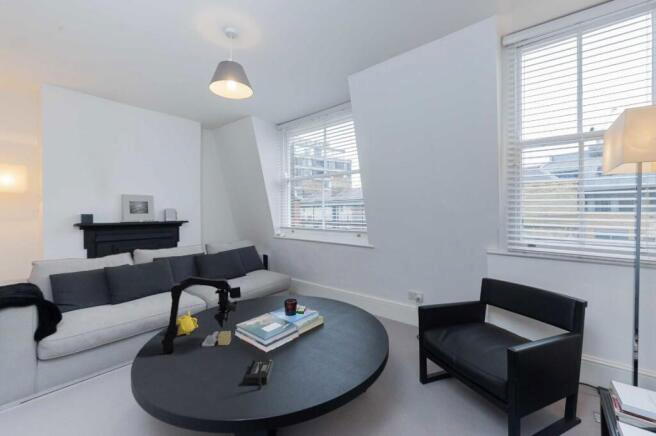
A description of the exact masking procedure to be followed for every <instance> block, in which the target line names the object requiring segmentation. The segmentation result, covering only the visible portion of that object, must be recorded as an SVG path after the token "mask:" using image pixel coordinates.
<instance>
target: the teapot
mask: <svg viewBox="0 0 656 436" xmlns="http://www.w3.org/2000/svg"><path fill="white" fill-rule="evenodd" d="M197 321H198V319H197V318H196V317H191V310H189V311H188V312H187V314H186V315H182V316H181V317H179V318H177V324H180V326H179V333H178V335H176V337H177V336H179V337H180V336H181V335H184V334H186V336H189V335H190V334H191V332H193V331H194V330H195V329H197V328H198V327H199V325H198V324H197Z"/></svg>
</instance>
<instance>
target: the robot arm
mask: <svg viewBox="0 0 656 436" xmlns="http://www.w3.org/2000/svg"><path fill="white" fill-rule="evenodd" d="M190 285H198V286H203V287H204V286H206V287H212V288H215V289H216V290H214V291H215V292H214V293H215V295H216V294H218V302H217V305H218V308H217V312H216V313H215V314H214V315H213V319H214V320H216V322H217V324H218V325H219V326H220V328H221V329H222V328H224V324H225V323H224V322H228V320H229V315H230V312H231V311H232V312H233V313H236V311H237V310H238V307H239V303H238V301H237V300H235V299H240V298H242V292H241V286H236V287H232V285H230V284H229V280H228V279H227V278H225V277H224V278H214V279H213V278H207V277H197V276H192V275H189V276H188V277H187V278H185V279H184V280H181V281H180V282H175V283H174V284H173V286H172V287H171V289H170V297H171V308H170V314H169V323H168V326H167V329H166V331H165V334H164V335H163V337H162V339H161V341H160V343H161V346H162V351H161V352H160V354H159V355H171V354H173V353H174V352H175V350H177V347H175V341H174V340H175V339H176V337H177V335H178V333H179V326H180V324H177V320H178V316H179V309H180V308H179V307H180V299H181V296H182V295H183V294H182V293H183V291H184V290H185V289H186V288H187V287H189V286H190ZM229 298H230V299H229ZM231 300H234V302H231Z"/></svg>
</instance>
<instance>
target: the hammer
mask: <svg viewBox="0 0 656 436" xmlns="http://www.w3.org/2000/svg"><path fill="white" fill-rule="evenodd" d="M219 334H220V332H219V331H214V332H213V333H212V334H208V335H207V336H206V338H205V340H204V341H203V342H202V344H201V347H214V346H216V344H217V343H218V335H219Z"/></svg>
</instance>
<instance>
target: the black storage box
mask: <svg viewBox="0 0 656 436" xmlns="http://www.w3.org/2000/svg"><path fill="white" fill-rule="evenodd" d="M273 366H274V358H261V354H260V353H259V354H258V358H257V359H256V358H255V359H254V358H253V359H252V363H251V364H250V367H249V369H248V371H247V373H246V374H245V377H244V386H245V385H247V386H248V385H250V386H251V385H258V390H259V391H260V390H262V387H263V385H268V382H269V379H270V376H271V373H272V370H273Z"/></svg>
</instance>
